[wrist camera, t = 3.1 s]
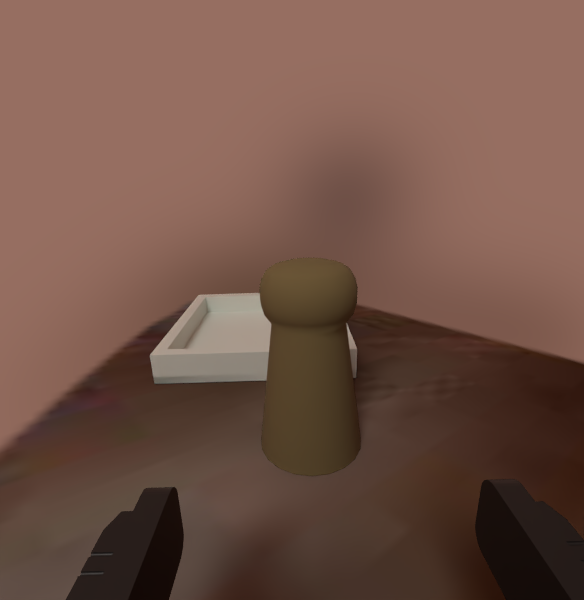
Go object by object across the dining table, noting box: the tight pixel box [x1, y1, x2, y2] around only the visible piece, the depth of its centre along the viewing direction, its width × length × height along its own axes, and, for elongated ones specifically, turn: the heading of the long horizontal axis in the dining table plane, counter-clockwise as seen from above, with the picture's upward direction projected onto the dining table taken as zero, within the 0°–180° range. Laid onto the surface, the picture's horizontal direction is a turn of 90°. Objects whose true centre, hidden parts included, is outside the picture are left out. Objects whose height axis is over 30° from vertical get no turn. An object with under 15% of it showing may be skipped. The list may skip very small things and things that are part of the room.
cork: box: [259, 258, 360, 476], centre depth 21 cm, size 6×6×11 cm
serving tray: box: [150, 293, 357, 384], centre depth 36 cm, size 16×16×2 cm
